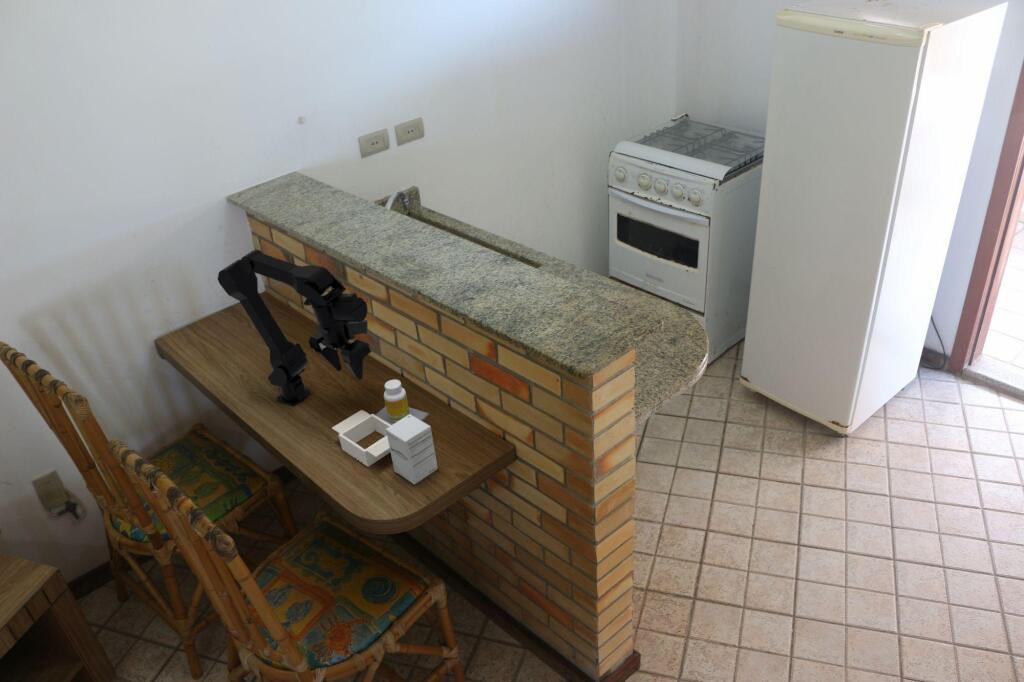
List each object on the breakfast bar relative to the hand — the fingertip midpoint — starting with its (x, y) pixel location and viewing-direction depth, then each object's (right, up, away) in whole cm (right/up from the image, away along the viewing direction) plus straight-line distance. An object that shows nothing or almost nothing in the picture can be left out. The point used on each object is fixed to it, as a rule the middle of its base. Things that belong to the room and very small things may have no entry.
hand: (350, 374), depth 206 cm
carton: (+6, -17, -6) cm, 19 cm away
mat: (+12, -11, +2) cm, 16 cm away
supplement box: (+18, -21, -15) cm, 32 cm away
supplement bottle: (+12, -10, +2) cm, 16 cm away
